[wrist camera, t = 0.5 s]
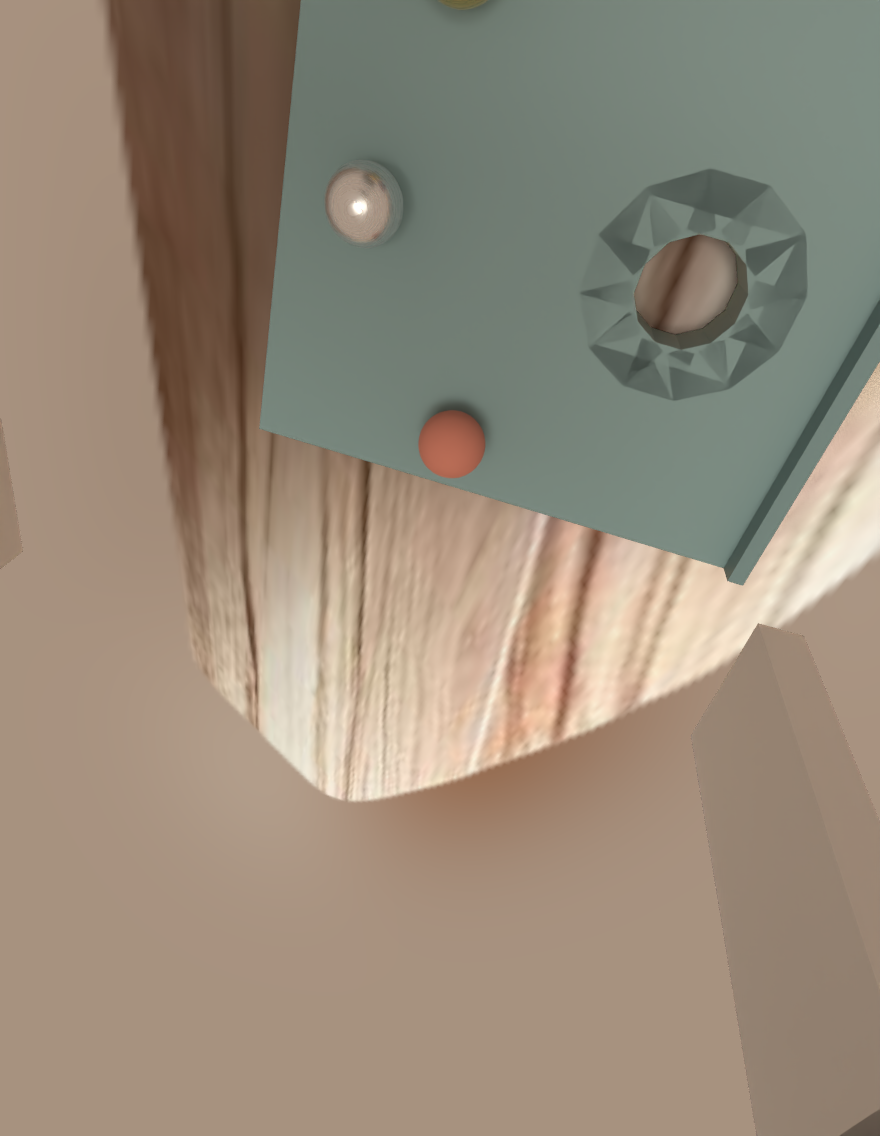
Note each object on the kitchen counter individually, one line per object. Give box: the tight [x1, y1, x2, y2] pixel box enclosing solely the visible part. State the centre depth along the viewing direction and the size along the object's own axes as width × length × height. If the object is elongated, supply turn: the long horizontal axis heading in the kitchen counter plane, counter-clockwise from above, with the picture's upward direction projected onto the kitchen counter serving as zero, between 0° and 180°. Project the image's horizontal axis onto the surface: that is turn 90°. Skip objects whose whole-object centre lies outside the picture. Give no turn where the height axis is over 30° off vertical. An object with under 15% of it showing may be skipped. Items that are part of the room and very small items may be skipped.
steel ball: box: [324, 160, 403, 248], centre depth 29 cm, size 3×3×3 cm
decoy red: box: [418, 410, 485, 478], centre depth 34 cm, size 3×3×3 cm
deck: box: [259, 0, 880, 585], centre depth 30 cm, size 24×26×4 cm
